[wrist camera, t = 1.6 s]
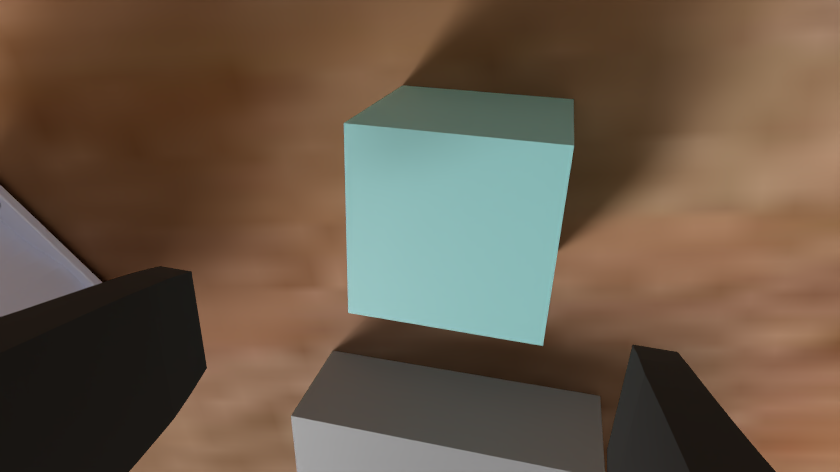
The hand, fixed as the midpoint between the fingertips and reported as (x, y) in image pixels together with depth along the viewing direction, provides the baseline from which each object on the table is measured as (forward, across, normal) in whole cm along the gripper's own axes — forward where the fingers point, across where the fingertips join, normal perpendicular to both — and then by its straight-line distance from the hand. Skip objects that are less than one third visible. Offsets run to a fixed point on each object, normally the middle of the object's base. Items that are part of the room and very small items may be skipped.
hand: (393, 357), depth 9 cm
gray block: (+10, 0, +13) cm, 16 cm away
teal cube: (+10, 0, 0) cm, 10 cm away
